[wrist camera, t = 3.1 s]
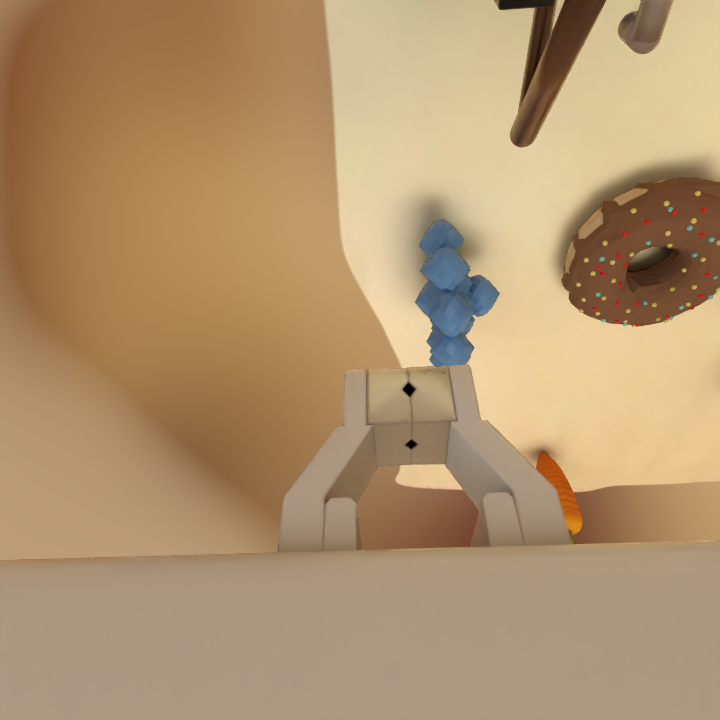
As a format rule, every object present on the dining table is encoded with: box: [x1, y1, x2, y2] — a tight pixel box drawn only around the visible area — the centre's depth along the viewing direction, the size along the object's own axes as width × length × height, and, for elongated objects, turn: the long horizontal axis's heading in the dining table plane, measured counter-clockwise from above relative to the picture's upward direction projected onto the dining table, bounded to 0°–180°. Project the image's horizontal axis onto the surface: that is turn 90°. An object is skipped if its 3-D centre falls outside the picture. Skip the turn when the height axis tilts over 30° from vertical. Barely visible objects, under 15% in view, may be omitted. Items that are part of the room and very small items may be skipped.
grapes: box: [415, 219, 500, 366], centre depth 41 cm, size 12×7×12 cm, turn 7°
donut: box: [562, 178, 720, 327], centre depth 42 cm, size 14×14×5 cm
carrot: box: [536, 452, 582, 544], centre depth 65 cm, size 5×5×15 cm
